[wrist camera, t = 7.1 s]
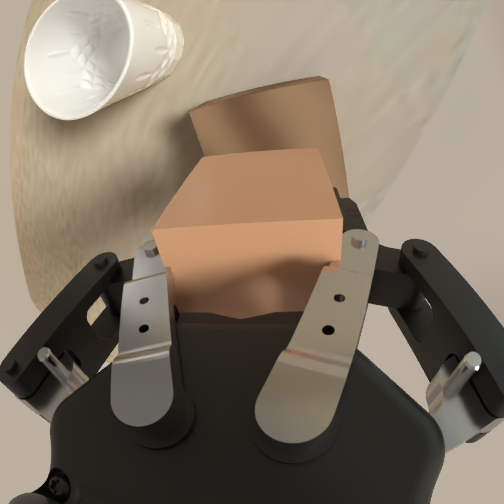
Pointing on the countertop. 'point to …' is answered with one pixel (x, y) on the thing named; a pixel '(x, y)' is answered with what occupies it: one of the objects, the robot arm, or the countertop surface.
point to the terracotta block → (251, 232)
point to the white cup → (97, 54)
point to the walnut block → (275, 123)
